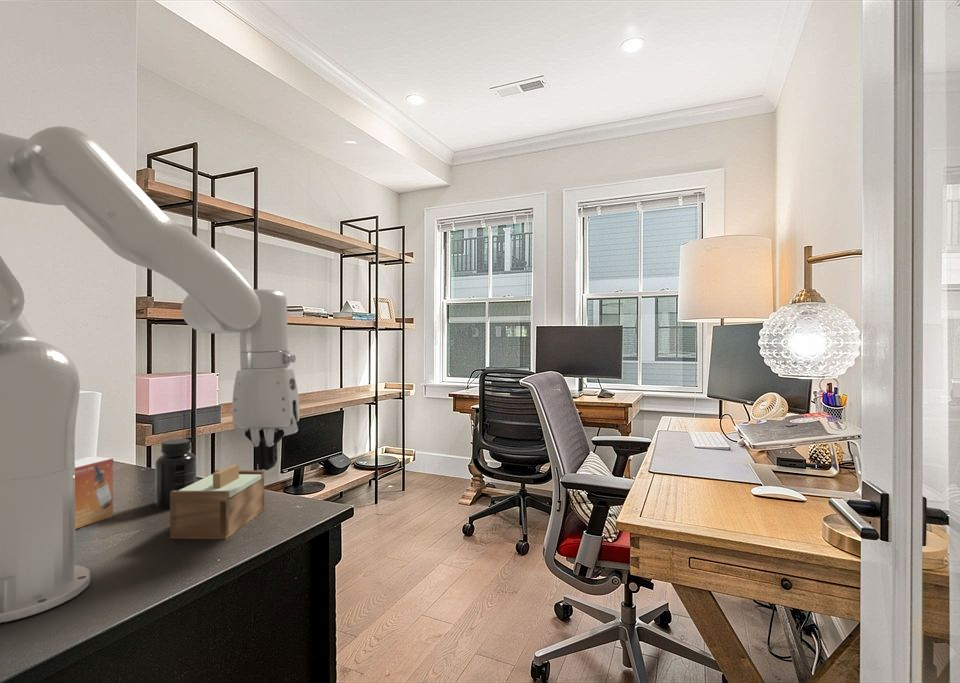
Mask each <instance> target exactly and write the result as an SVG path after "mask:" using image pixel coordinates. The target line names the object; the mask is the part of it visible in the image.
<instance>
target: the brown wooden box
mask: <svg viewBox="0 0 960 683" xmlns="http://www.w3.org/2000/svg"><path fill="white" fill-rule="evenodd" d="M220 470H221V469H216V470H214V471H213V474H214V473H216V472H218V471H220ZM239 474H261V479H260V480H258V481H257V482H255V483H254V484H252V485H250V486H249V487H247V488H245V489H244V490H242V491H240V492H239V493H237V494H235V495H234V496H232V497H230V498H228V491H171V492H170V508H169V518H170V519H169V525H170V526H169V538H170V539H180V540H181V539H185V540H186V539H187V540H189V539H190V540H191V539H192V540H195V539H196V540H227V539H228V538H229V537H230V536H232V535H233V534H235V533H236V532H237V531H239V530H240V529H241V528H243V527H244V526H245V525H246V524H248V523H249V522H251V521H253V519H254V517H255V516H256V517H257V516H259V515H260V514H261V513H263V512H264V511H265V470H256V469H255V470H254V469H253V470H251V469H250V470H249V469H246V470H244V469H243V470H240V469H239ZM263 510H264V511H263ZM262 511H263V512H262ZM260 512H261V513H260ZM259 513H260V514H259ZM258 514H259V515H258ZM256 517H255V518H256ZM250 520H251V521H250Z"/></svg>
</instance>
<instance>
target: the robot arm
mask: <svg viewBox="0 0 960 683" xmlns="http://www.w3.org/2000/svg"><path fill="white" fill-rule="evenodd" d="M0 197H2V198H7V199H11V200H17V201H23V202H27V203H35V204H42V205H49V206H52V205H53V206H64V207H65V208H66V209H67V210H69V211H70V212H71V213H72V214H73V215H74V217H76V218H77V219H78V220H79V221H80V222H81V223H83V225H85V226H86V227H87V228H88V229H89V230H90V231H91V232H92V233H93V234H94V235H96V237H98V238H99V240H101V241H102V243H104V244H105V245H106V246H107V247H108V248H109V249H110V250H111V251H112V252H113V253H115V255H117V256H119V257H121V258H123V259H124V260H125V261H128V262H130V263H132V264H135V265H137V266H140V267H143V268H145V269H149V270H151V271H153V272H156V273H158V274H159V275H160V276H161V275H162V276H163V277H165V278H167V279H169V280H170V281H171V282H173V283H175V284H176V285H177V286H179V287H180V288H181V289H182V290H184V291H185V292H186V293H187V294H188V295H186V296H185V298H184V299H183V301H182V303H181V311H180V312H181V316H182V319H183V320H184V322H185V323H186V324H187V325H188V327H191V329H194V330H195V331H197V332H199V333H200V332H201V333H203V334H204V333H205V334H231V333H232V334H234V333H237V334H238V333H239V362H240V363H239V364H240V366H239V367H240V368H239V370H237V371H236V374H235V377H234V378H235V379H234V384H233V393H232V403H231V404H232V405H231V406H232V408H231V410H232V411H231V415H232V423H233V426H234V428H233V433H234V434H235V435H239V436H242V437H246V439H248V440H249V441H250V442H251V444H252V446H253V447H255V462H256V464H257V469H258V470H257V471H269V470H270V469H272V468H274V467H275V466H276V464H277V462H278V443H280V442H281V440H282V439H283V438H284V437H285V436H289V435H294V434H296V433H297V432H298V431H299V428H298V424H297V423H298V422H299V421H300V419H301V418H300V417H301V416H300V415H301V414H300V411H301V410H300V398H299V392H298V384H297V379H296V375H295V371H294V369H293V368H289V367H290V364H293V363H296V355H295V354H290V351H289V349H288V348H289V345H288V342H289V341H288V302H287V297H286V295H285V293H284V292H282V291H279V290H275V289H264V288H263V289H262V288H261V289H259V288H258V289H253V287H252V286H251V285H250V283H249V281H247V280H246V279H245V278H244V277H243V275H242V274H241V273H240V271H238V270H237V269H236V268H235V267H234V266H233V265H232V264H231V262H230V261H229V260H227V258H225V257H224V256H223V255H222V254H221V253H220V252H218V251H217V250H216V249H214V248H213V247H211V246H210V245H209V244H208V243H206V242H205V241H203V240H201V239H200V238H199V237H197V236H195V235H194V234H193V233H191V232H190V231H189V230H187V229H186V228H185V227H183V226H182V225H179V224H177V223H176V222H175V221H173V220H172V219H171V218H170V217H169V216H168V215H167V214H166V213H165V212H164V211H163V210H162V209H161V208H160V207H159V206H158V205H157V204H156V203H155V202H154V201H153V200H152V199H151V198H150V196H148V195H147V193H146V192H145V191H143V189H142V188H141V187H140V186H139V185H138V184H137V183H136V182H135V181H134V180H133V179H132V178H131V176H130V175H129V174H128V173H127V172H126V171H125V170H124V169H123V167H121V166H120V165H119V164H118V163H117V162H116V161H115V159H114V158H112V156H111V155H110V154H109V153H108V152H107V151H106V150H105V149H104V148H103V147H102V146H101V145H100V144H99V143H97V141H96V140H95V139H93V138H92V137H91V136H89V135H88V134H87V133H85V132H83V131H81V130H78V129H76V128H74V127H68V126H59V125H58V126H50V127H47V128H44V129H41V130H39V131H37V132H35V133H34V134H32V135H31V136H30V137H29V138H24V137H23V138H22V137H19V136H14V135H10V134H8V133H7V134H5V133H2V132H0ZM24 305H25V293H24V291H23V288H22V286H21V284H20V282H19V281H18V280H17V278H16V277H15V275H14V274H13V273H12V271H11V269H10V268H9V267H8V265H7V263H6V262H5V260H4V258H2V256H1V255H0V624H1V623H2V622H3V623H7V622H12V621H16V620H20V619H23V618H26V617H27V618H28V617H31V616H35V615H36V614H40V613H43V612H45V611H48V610H50V609H53V608H55V607H57V606H60V605H62V604H64V603H66V602H67V601H69V600H72V599H73V598H75V597H76V596H78V595H79V594H80V593H82V592H83V591H84V590H86V588H88V586H89V585H90V583H91V578H92V577H91V571H90V569H88V568H87V567H85V566H81V565H77V564H76V529H75V460H76V459H75V456H76V455H75V453H76V450H75V449H76V442H75V441H76V423H77V414H78V408H79V400H80V386H81V385H80V376H79V372H78V369H77V366H76V365H75V363H74V362H73V360H72V359H71V357H70V356H69V355H68V353H66V352H64V351H63V350H62V349H60V348H59V347H57V346H55V345H54V344H50V343H47V342H45V341H42V340H41V341H40V340H39V339H38V337H37V335H36V333H35V332H34V330H33V329H32V327H31V325H30V324H29V322H28V321H27V319H26V318H25V315H24V314H23V313H22V312H23V310H24ZM266 430H267V431H266ZM266 432H267V433H266Z"/></svg>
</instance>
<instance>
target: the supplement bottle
mask: <svg viewBox="0 0 960 683" xmlns="http://www.w3.org/2000/svg"><path fill="white" fill-rule="evenodd" d="M191 444H192V443H191V439H189V438H177V439H168V440H165V441H162V442H161V448H160V449H161V450H160V453H161V454H162V455H160V456H159V457H158V458H157V459H156V460H155V463H154V465H155V466H154V467H155V468H154V475H155V476H154V478H155V480H154V481H155V482H154V484H155V485H154V486H155V487H154V488H155V489H154V492H155V493H154V497H155V498H154V500H155V505H156V507H158V508H161V509H170V492H171V491H179V490H181V489H183V488H185V487H187V486H189V485H191V484H193V483H195V482H197V457H196V455H195V454H194V453H192V452H190V451H191V450H192V445H191Z"/></svg>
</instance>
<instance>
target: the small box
mask: <svg viewBox="0 0 960 683" xmlns="http://www.w3.org/2000/svg"><path fill="white" fill-rule="evenodd" d="M113 515H114V458H113V457H99V456H87V457H86V456H85V457H82V458H79V459H75V530H77V529H79V528H82V527H85V526H88V525H90V524H94V523H97V522H99V521H103V520H106V519H109V518H112V517H113Z"/></svg>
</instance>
